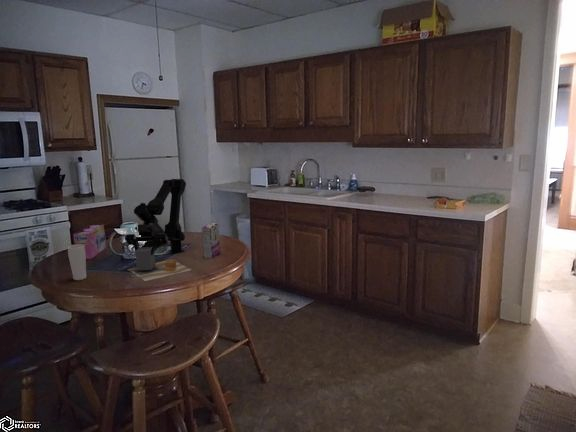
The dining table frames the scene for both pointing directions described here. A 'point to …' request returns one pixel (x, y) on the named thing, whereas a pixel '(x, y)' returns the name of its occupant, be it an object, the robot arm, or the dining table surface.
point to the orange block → (170, 265)
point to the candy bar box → (211, 240)
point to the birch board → (158, 271)
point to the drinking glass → (77, 261)
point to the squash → (157, 230)
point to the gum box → (91, 239)
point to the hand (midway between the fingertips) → (144, 255)
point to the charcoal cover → (144, 258)
